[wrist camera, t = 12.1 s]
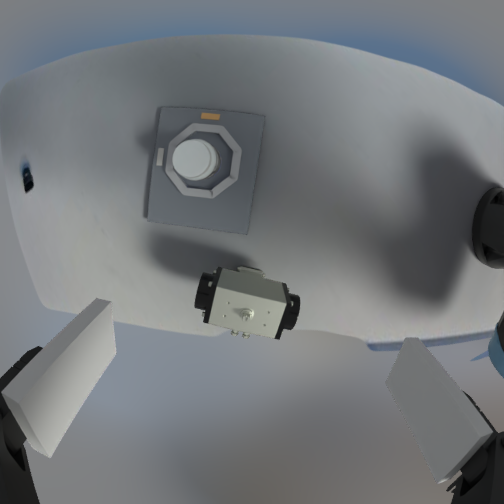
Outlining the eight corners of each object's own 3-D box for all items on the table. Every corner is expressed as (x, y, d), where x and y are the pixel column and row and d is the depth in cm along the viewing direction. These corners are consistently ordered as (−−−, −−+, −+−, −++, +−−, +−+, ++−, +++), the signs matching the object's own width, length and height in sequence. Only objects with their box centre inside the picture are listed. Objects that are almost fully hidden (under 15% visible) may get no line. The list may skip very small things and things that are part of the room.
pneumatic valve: (212, 253, 40) (195, 285, 28) (292, 273, 41) (306, 311, 29) (204, 288, 41) (187, 330, 30) (281, 307, 42) (289, 353, 31)
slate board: (264, 117, 35) (265, 114, 33) (247, 233, 39) (247, 236, 37) (164, 108, 34) (159, 105, 32) (150, 219, 39) (144, 222, 37)
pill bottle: (185, 179, 36) (167, 181, 28) (187, 144, 35) (169, 136, 27) (221, 180, 36) (212, 181, 28) (223, 144, 35) (214, 135, 27)
